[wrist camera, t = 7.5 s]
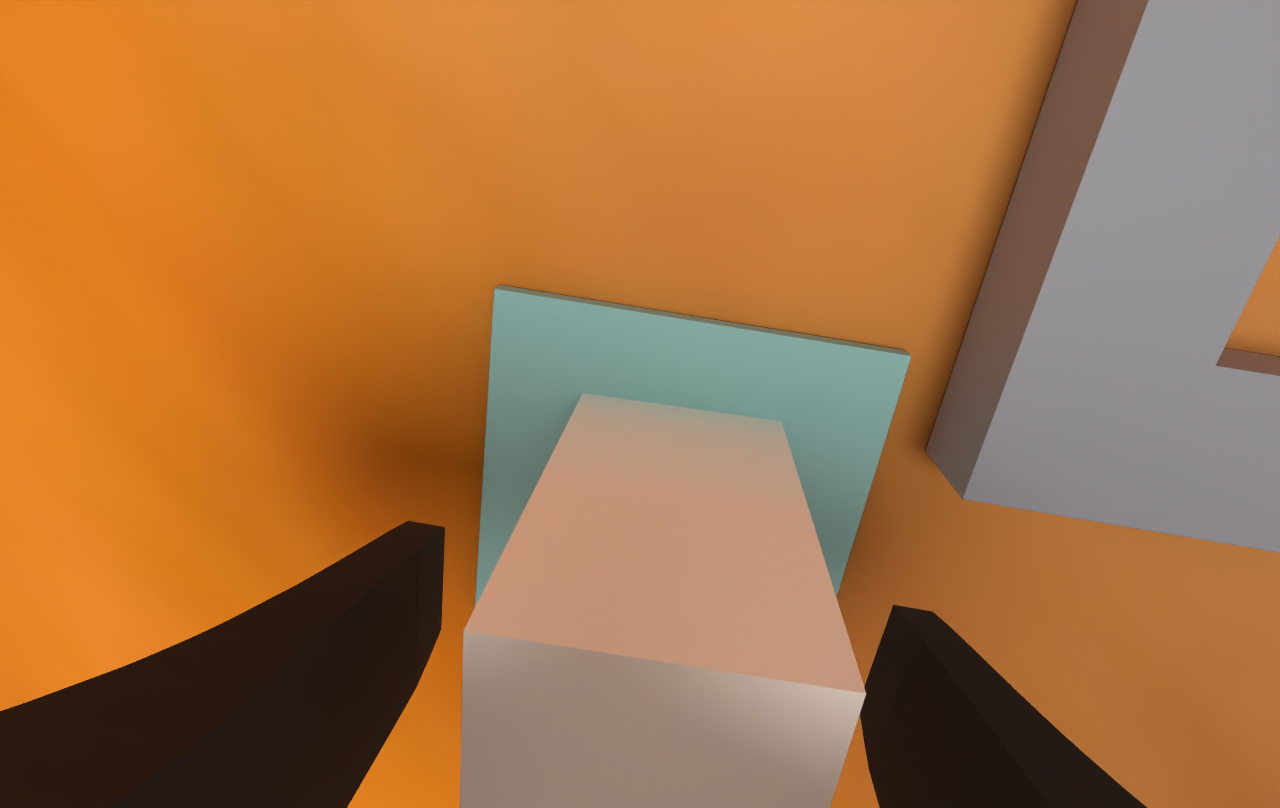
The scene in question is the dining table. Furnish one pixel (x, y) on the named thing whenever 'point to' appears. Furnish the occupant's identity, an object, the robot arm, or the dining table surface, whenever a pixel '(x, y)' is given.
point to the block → (659, 626)
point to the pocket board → (1133, 285)
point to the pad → (681, 399)
